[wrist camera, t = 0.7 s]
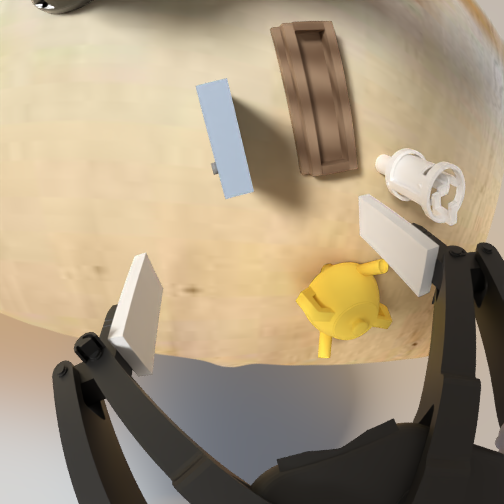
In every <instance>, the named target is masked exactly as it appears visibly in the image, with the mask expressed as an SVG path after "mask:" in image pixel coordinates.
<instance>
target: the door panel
mask: <svg viewBox="0 0 504 504" xmlns="http://www.w3.org/2000/svg"><path fill="white" fill-rule="evenodd" d="M196 89H197V93H198V97H199V101H200V105H201V109H202V113H203V116H204V120H205V124H206V128H207V132H208V136H209V139H210V143H211V147H212V151H213V154H214V158H215V162H214V163H211V166H212V169H213V173H214V175H215V174H219V177H220V181H221V184H222V188H223V192H224V195H225V199H228V198H231V197H235V196H239V195H243V194H247V193H250V192H254V190H253V186H252V182H251V177H250V173H249V169H248V164H247V160H246V156H245V151H244V147H243V143H242V139H241V134H240V130H239V126H238V122H237V118H236V114H235V109H234V105H233V101H232V97H231V93H230V89H229V85H228V81H227V78H226V79H222V80H218V81H213V82H209V83H205V84H201V85H198V86H196Z"/></svg>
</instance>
